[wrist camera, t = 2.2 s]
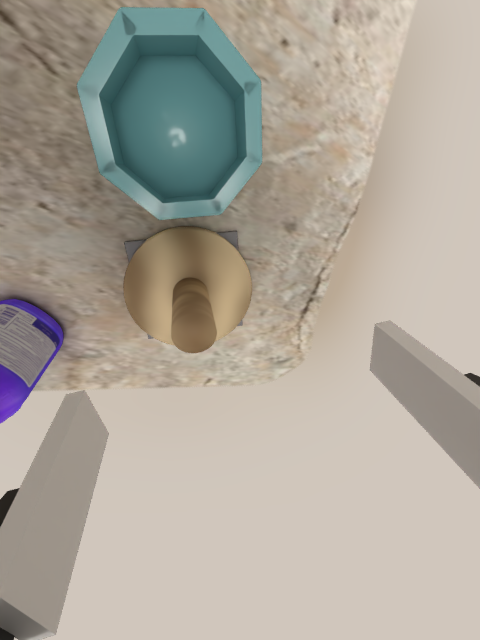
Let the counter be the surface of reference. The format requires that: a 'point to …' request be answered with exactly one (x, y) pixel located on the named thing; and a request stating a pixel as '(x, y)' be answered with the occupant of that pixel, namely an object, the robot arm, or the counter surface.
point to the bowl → (172, 111)
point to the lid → (187, 287)
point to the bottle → (24, 351)
